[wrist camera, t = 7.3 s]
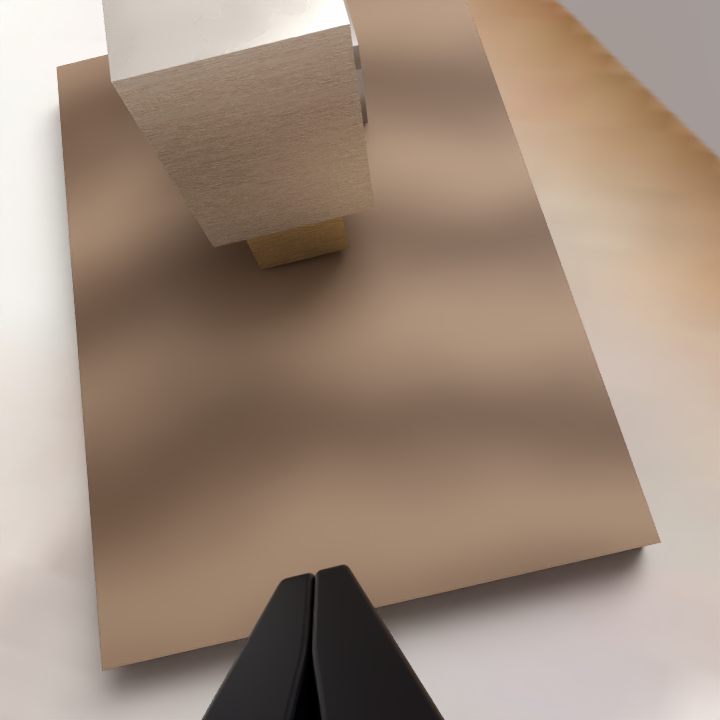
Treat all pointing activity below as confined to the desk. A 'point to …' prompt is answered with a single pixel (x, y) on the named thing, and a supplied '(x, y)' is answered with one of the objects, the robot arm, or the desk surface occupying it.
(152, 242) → the lock plate
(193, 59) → the white boxy piece
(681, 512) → the desk surface
